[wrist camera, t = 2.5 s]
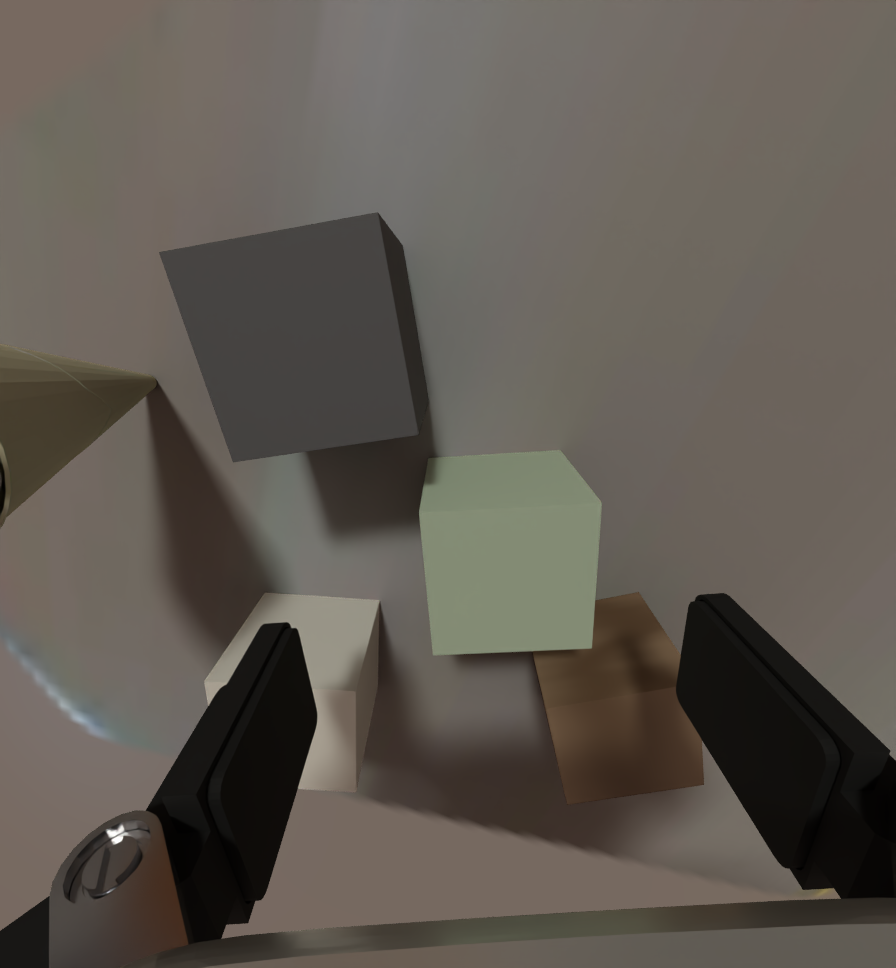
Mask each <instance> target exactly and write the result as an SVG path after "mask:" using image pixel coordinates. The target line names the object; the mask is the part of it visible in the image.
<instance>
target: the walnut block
mask: <svg viewBox="0 0 896 968" xmlns="http://www.w3.org/2000/svg"><path fill="white" fill-rule="evenodd" d="M532 653H533V658H534V662H535V667H536V671H537V676H538V680H539V685H540V689H541V694H542V698H543V702H544V707H545V711H546V715H547V720H548V724H549V728H550V733H551V737H552V741H553V746H554V750H555V754H556V759H557V763H558V767H559V771H560V776H561V780H562V784H563V789H564V793H565V797H566V802H567V805H569V804H576V803H583V802H590V801H597V800H603V799H610V798H617V797H624V796H631V795H637V794H644V793H651V792H658V791H665V790H671V789H678V788H685V787H692V786H699V785H704V776H703V756H702V739H701V738H700V736H699V734H698V733H697V731H696V729H695V728H694V726H693V725H692V723H691V721H690V720H689V718H688V717H687V715H686V713H685V712H684V710H683V709H682V707H681V705H680V703H679V701H678V698H677V695H676V683H677V677H678V670H679V664H680V658H681V655H680V654H679V652H678V651H677V649H676V648H675V646H674V645H673V643H672V642H671V640H670V639H669V637H668V636H667V634H666V633H665V631H664V630H663V628H662V627H661V625H660V624H659V622H658V621H657V619H656V618H655V616H654V615H653V613H652V612H651V610H650V609H649V607H648V606H647V604H646V603H645V601H644V600H643V598H642V597H641V595H640V594H639V592H637V593H632V594H627V595H621V596H616V597H611V598H606V599H601V600H595V610H594V624H593V639H592V648H589V649H567V650H544V651H532Z"/></svg>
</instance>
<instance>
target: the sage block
mask: <svg viewBox="0 0 896 968" xmlns="http://www.w3.org/2000/svg"><path fill="white" fill-rule="evenodd" d="M601 508H602V502H601V501H600V500H599V499H598V497H597V496H596V495H595V493H594V492H593V491H592V490H591V488H590V487H589V486H588V485H587V483H586V482H585V481H584V480H583V478H582V477H581V476H580V475H579V473H578V472H577V471H576V469H575V468H574V467H573V466H572V464H571V463H570V462H569V461H568V459H567V458H566V457H565V456H564V454H563V453H562V452H561V451H560V450H556V451H539V452H522V453H505V454H488V455H471V456H454V457H437V458H428V463H427V469H426V474H425V480H424V486H423V492H422V498H421V504H420V509H419V519H420V529H421V539H422V549H423V559H424V569H425V579H426V589H427V599H428V609H429V619H430V629H431V639H432V650H433V655H454V654H476V653H499V652H521V651H544V650H567V649H589V648H592V639H593V624H594V610H595V595H596V581H597V566H598V552H599V537H600V523H601Z"/></svg>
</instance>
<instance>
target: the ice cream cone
mask: <svg viewBox="0 0 896 968" xmlns="http://www.w3.org/2000/svg"><path fill="white" fill-rule="evenodd" d="M156 385H157V382H156V380H155V378H154V377H153V376H151V375H147V374H142V373H137V372H133V371H128V370H123V369H118V368H114V367H109V366H104V365H99V364H94V363H90V362H85V361H80V360H75V359H71V358H66V357H61V356H56V355H51V354H47V353H42V352H37V351H32V350H28V349H23V348H18V347H13V346H8V345H4V344H0V528H1V527H2V526H3V524H4V522H5V519H6V517H7V516H9V515H10V514H11V513H12V512H13V511H14V510H15V509H16V508H18V507H19V506H20V505H21V504H22V503H23V502H24V501H26V500H27V499H28V498H29V497H30V496H31V495H32V494H34V493H35V492H36V491H37V490H38V489H39V488H40V487H42V486H43V485H44V484H45V483H46V482H47V481H48V480H50V479H51V478H52V477H53V476H54V475H55V474H56V473H58V472H59V471H60V470H61V469H62V468H63V467H64V466H65V465H67V464H68V463H69V462H70V461H71V460H72V459H73V458H75V457H76V456H77V455H78V454H80V453H81V452H82V451H83V450H85V449H86V448H87V447H88V446H89V445H91V444H92V443H93V442H94V441H95V440H96V439H97V438H98V437H100V436H101V435H102V434H103V433H104V432H105V431H106V430H107V429H109V428H110V427H111V426H112V425H113V424H114V423H115V422H117V421H118V420H119V419H120V418H121V417H122V416H123V415H124V414H126V413H127V412H128V411H129V410H130V409H131V408H132V407H134V406H135V405H136V404H137V403H138V402H139V401H140V400H142V399H143V398H144V397H145V396H146V395H147V394H148V393H149V392H151V391H152V390H153V389H154V388H155V387H156Z"/></svg>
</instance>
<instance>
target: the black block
mask: <svg viewBox="0 0 896 968" xmlns="http://www.w3.org/2000/svg"><path fill="white" fill-rule="evenodd" d="M159 253H160V256H161V259H162V262H163V265H164V268H165V270H166V273H167V276H168V279H169V282H170V285H171V288H172V290H173V293H174V296H175V299H176V302H177V305H178V307H179V310H180V313H181V316H182V319H183V322H184V324H185V327H186V330H187V333H188V336H189V339H190V341H191V344H192V347H193V350H194V353H195V356H196V358H197V361H198V364H199V367H200V370H201V373H202V375H203V378H204V381H205V384H206V387H207V390H208V393H209V395H210V398H211V401H212V404H213V407H214V410H215V412H216V415H217V418H218V421H219V424H220V427H221V429H222V432H223V435H224V438H225V441H226V444H227V446H228V449H229V452H230V455H231V458H232V461H233V462H238V461H245V460H252V459H258V458H265V457H272V456H279V455H286V454H292V453H299V452H306V451H313V450H320V449H326V448H333V447H340V446H347V445H354V444H360V443H367V442H374V441H381V440H388V439H394V438H401V437H408V436H415V435H419V432H420V428H421V425H422V421H423V418H424V414H425V411H426V407H427V404H428V400H429V398H428V393H427V387H426V381H425V375H424V369H423V363H422V357H421V351H420V345H419V339H418V333H417V328H416V322H415V316H414V310H413V304H412V298H411V292H410V286H409V280H408V274H407V268H406V263H405V257H404V251H403V245H402V244H401V243H400V241H399V240H398V239H397V237H396V236H395V235H394V233H393V232H392V231H391V229H390V228H389V227H388V225H387V224H386V223H385V221H384V220H383V219H382V217H381V216H380V215H379V213H378V212H377V213H372V214H366V215H361V216H355V217H350V218H344V219H339V220H333V221H328V222H322V223H317V224H311V225H306V226H300V227H295V228H289V229H284V230H278V231H273V232H268V233H262V234H257V235H251V236H246V237H240V238H235V239H229V240H224V241H218V242H213V243H207V244H202V245H196V246H191V247H185V248H180V249H174V250H169V251H163V252H159Z"/></svg>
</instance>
